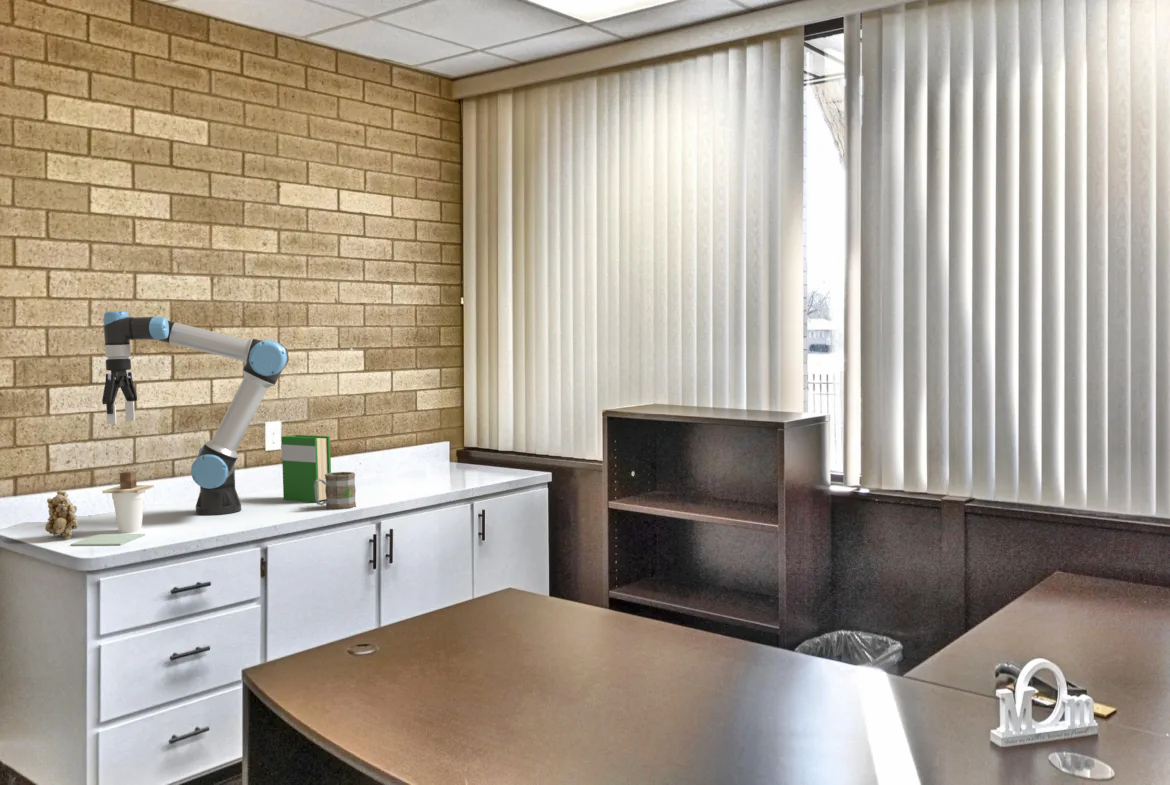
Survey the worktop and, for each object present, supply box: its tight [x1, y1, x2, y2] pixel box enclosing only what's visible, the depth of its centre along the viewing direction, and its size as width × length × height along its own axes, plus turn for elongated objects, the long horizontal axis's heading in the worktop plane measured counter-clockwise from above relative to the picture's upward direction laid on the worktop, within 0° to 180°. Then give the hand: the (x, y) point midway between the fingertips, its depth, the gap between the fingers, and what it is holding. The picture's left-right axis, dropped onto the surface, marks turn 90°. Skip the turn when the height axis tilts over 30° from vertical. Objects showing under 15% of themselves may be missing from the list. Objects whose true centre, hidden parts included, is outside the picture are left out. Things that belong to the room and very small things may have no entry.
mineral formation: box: [44, 489, 79, 540], centre depth 303 cm, size 8×13×15 cm, turn 50°
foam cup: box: [111, 490, 146, 534], centre depth 313 cm, size 10×9×13 cm
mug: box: [314, 471, 357, 511], centre depth 350 cm, size 16×11×12 cm
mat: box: [70, 533, 146, 547], centre depth 298 cm, size 15×15×1 cm
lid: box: [102, 471, 155, 494], centre depth 312 cm, size 11×11×6 cm
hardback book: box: [281, 434, 332, 504], centre depth 370 cm, size 18×7×24 cm, turn 59°
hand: (121, 422), depth 326 cm, fingers open, 13 cm apart
